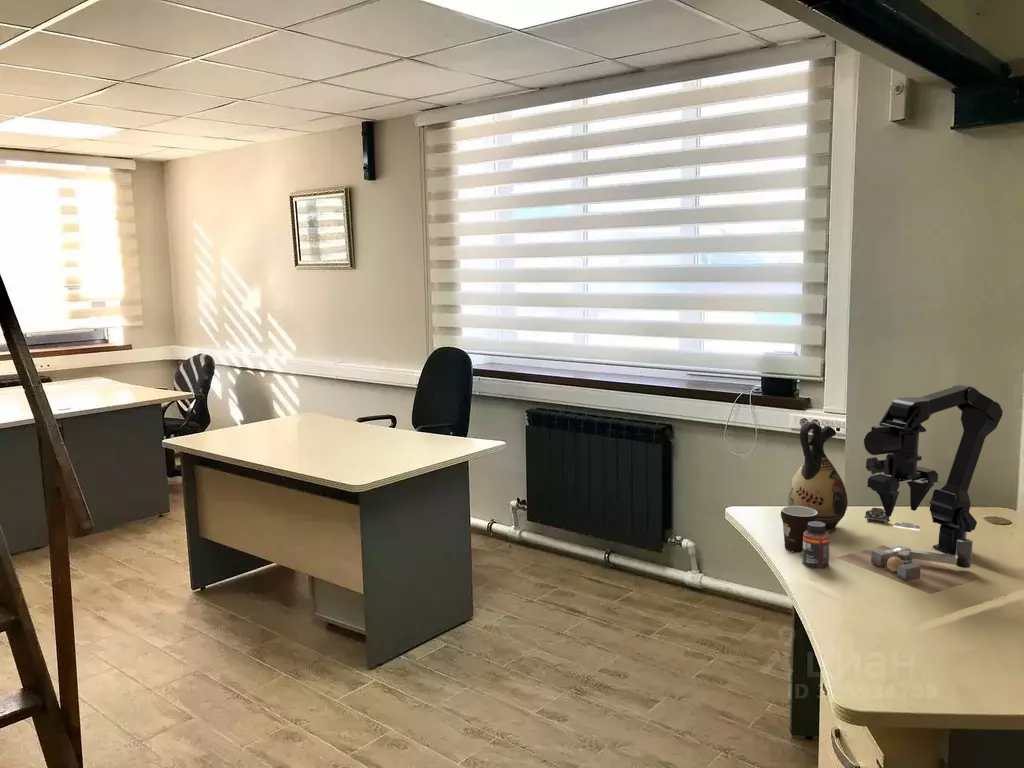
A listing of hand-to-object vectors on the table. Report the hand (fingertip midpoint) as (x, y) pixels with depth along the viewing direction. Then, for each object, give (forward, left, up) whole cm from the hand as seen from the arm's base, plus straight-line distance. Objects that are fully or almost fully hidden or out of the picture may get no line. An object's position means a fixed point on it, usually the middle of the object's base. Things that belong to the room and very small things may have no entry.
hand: (900, 513), depth 197 cm
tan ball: (+10, +7, -11) cm, 16 cm away
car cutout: (-23, -19, -13) cm, 32 cm away
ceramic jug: (-1, -27, -12) cm, 30 cm away
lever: (+3, +8, -10) cm, 13 cm away
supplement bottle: (+22, -6, -12) cm, 26 cm away
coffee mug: (+14, -19, -12) cm, 27 cm away
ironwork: (+7, +6, -11) cm, 14 cm away
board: (+6, +6, -12) cm, 14 cm away
